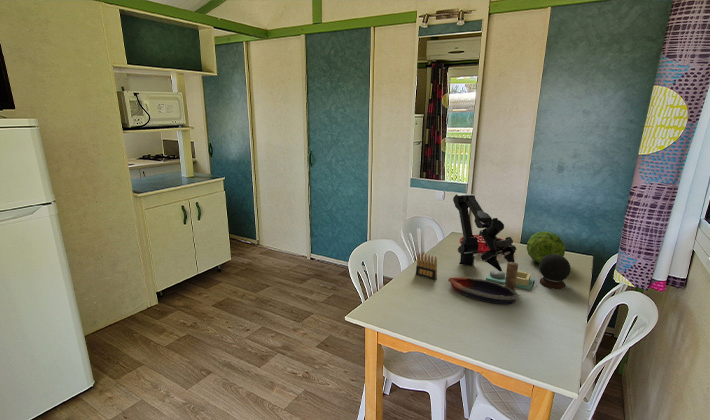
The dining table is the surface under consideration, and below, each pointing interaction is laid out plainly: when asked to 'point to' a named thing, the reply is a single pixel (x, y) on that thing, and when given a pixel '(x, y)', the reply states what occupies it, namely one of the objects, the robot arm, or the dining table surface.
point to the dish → (483, 290)
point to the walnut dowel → (511, 275)
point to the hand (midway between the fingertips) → (507, 269)
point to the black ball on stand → (554, 271)
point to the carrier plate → (521, 281)
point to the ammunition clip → (426, 267)
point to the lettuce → (544, 245)
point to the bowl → (480, 244)
